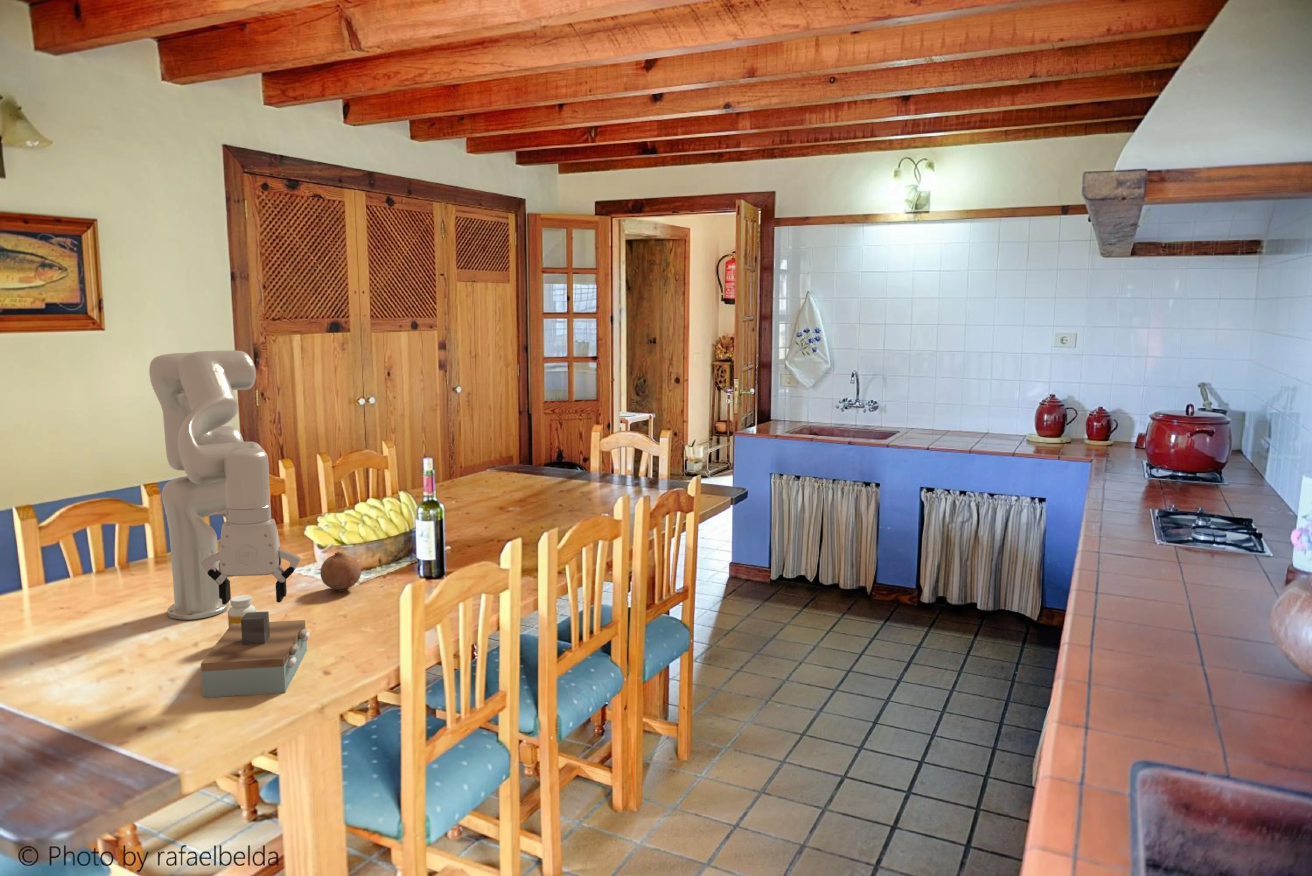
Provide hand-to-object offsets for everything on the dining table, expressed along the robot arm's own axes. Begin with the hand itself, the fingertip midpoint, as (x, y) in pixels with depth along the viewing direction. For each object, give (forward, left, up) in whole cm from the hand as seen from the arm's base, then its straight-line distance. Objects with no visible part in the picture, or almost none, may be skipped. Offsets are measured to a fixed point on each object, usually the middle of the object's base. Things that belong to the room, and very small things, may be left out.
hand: (253, 601), depth 168 cm
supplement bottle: (-17, -7, -15) cm, 23 cm away
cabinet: (0, 0, -14) cm, 14 cm away
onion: (-48, +8, -15) cm, 50 cm away
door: (0, 0, -9) cm, 9 cm away
